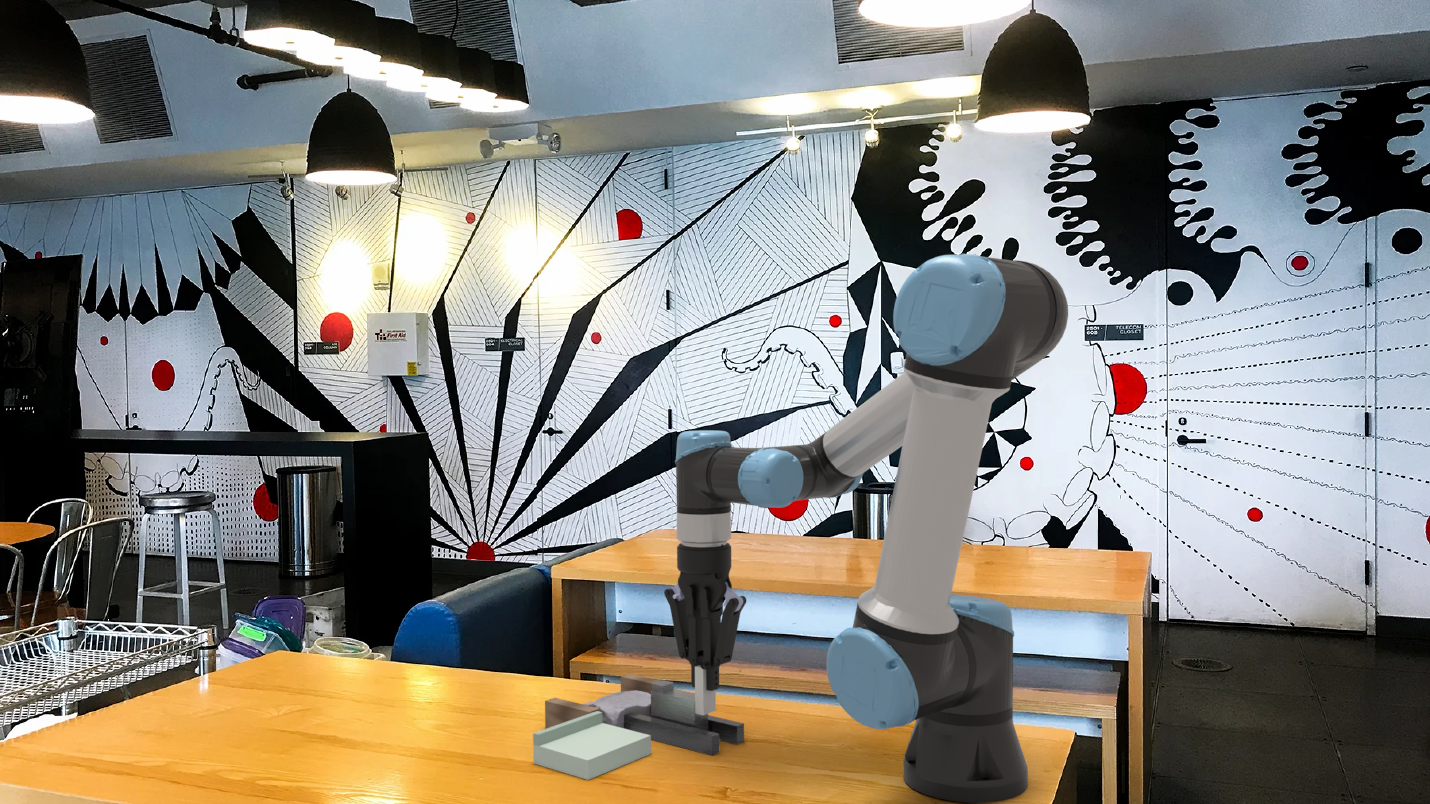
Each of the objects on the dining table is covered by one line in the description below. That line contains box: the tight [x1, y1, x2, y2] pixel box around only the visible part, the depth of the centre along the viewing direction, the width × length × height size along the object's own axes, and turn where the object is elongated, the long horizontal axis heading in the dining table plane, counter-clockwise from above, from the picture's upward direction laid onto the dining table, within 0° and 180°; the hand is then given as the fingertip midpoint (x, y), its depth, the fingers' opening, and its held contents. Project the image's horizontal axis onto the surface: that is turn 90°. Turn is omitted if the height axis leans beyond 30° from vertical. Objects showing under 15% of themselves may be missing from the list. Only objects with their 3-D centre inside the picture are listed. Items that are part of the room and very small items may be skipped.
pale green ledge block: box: [532, 711, 652, 781], centre depth 146 cm, size 10×12×4 cm
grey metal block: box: [651, 679, 709, 731], centre depth 155 cm, size 8×3×7 cm, turn 52°
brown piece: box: [544, 673, 661, 729], centre depth 164 cm, size 9×18×4 cm, turn 142°
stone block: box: [582, 690, 651, 728], centre depth 163 cm, size 12×5×10 cm
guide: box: [624, 706, 745, 756], centre depth 155 cm, size 16×7×2 cm, turn 52°
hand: (705, 711), depth 152 cm, fingers closed
